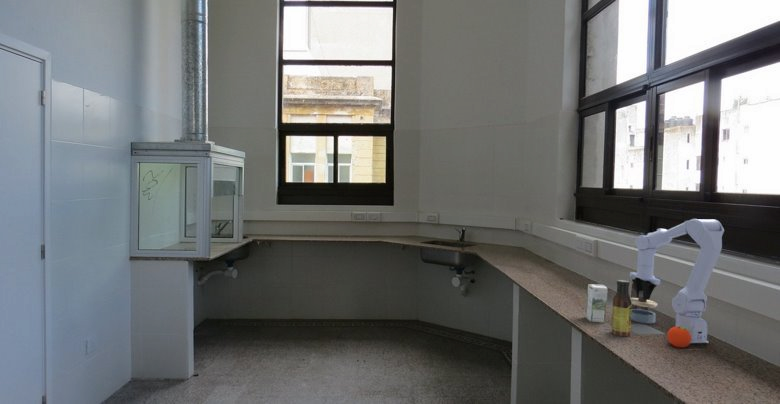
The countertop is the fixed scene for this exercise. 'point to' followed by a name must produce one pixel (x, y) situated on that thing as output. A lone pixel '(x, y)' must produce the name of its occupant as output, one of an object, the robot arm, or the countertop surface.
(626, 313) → the sauce bottle
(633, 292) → the box
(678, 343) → the clementine
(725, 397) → the countertop surface
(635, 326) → the mat
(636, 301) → the lid
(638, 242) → the robot arm
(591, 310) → the syrup box
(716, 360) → the countertop surface
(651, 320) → the bowl
